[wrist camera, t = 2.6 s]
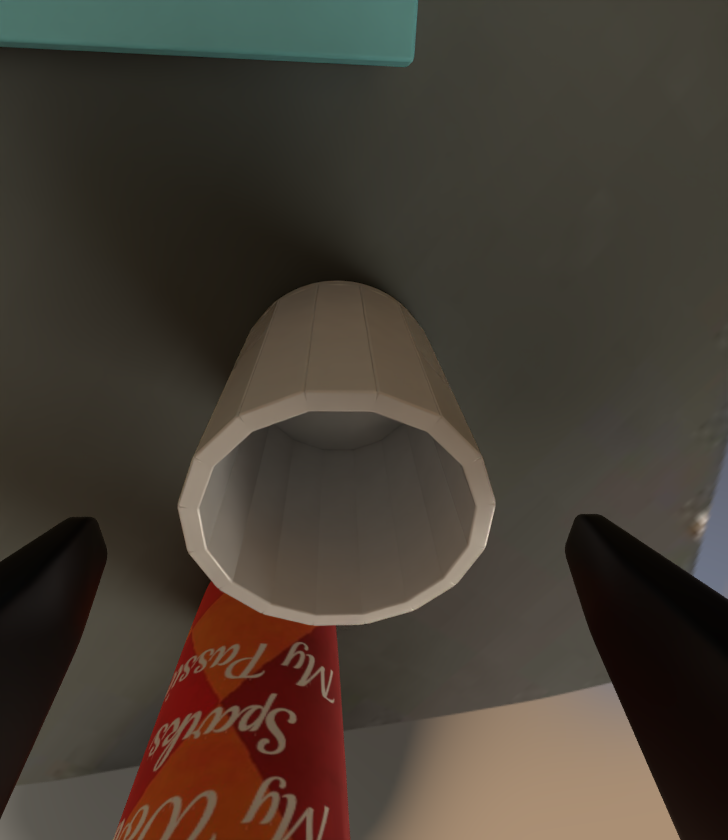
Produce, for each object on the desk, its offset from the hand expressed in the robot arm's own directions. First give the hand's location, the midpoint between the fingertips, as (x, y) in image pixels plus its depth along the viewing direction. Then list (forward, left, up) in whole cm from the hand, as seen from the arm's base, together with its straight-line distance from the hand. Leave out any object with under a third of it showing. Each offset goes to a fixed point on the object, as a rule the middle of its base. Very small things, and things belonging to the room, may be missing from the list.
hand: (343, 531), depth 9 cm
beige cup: (0, 0, -7) cm, 7 cm away
